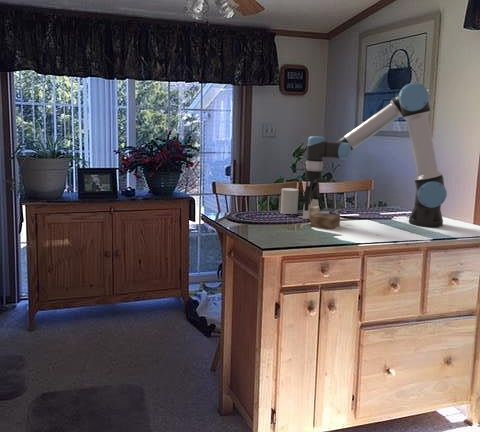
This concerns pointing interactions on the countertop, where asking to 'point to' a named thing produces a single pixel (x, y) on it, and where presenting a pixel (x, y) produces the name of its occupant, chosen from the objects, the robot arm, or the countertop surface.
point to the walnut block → (325, 221)
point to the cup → (289, 201)
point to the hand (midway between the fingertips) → (310, 215)
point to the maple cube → (312, 211)
